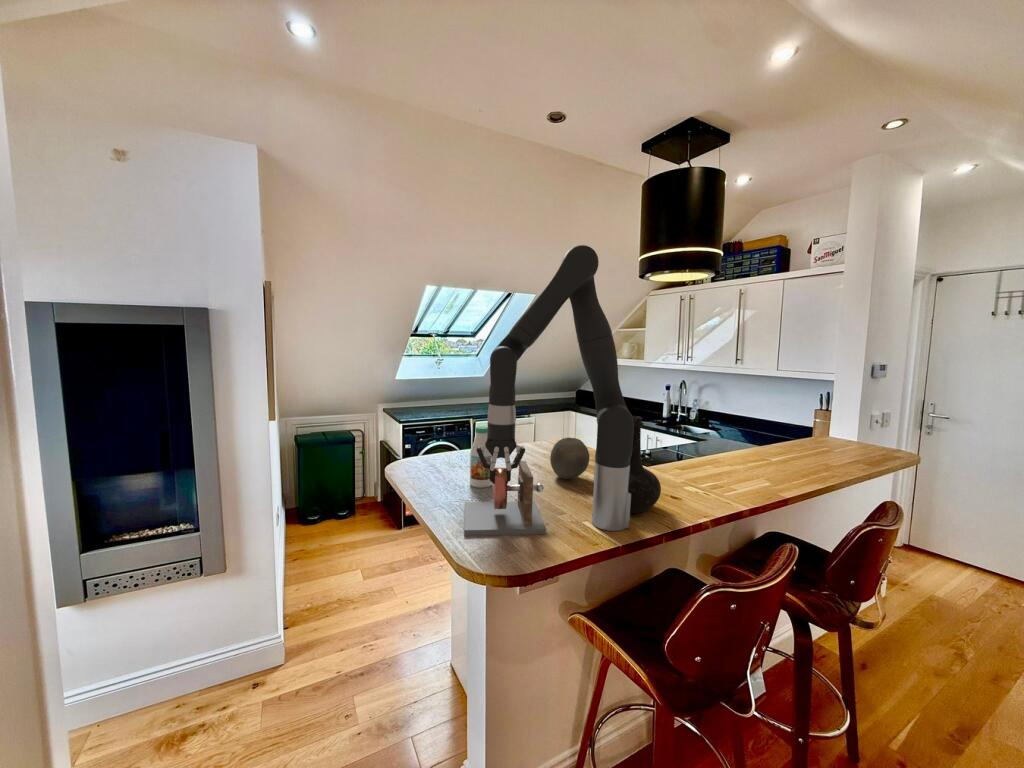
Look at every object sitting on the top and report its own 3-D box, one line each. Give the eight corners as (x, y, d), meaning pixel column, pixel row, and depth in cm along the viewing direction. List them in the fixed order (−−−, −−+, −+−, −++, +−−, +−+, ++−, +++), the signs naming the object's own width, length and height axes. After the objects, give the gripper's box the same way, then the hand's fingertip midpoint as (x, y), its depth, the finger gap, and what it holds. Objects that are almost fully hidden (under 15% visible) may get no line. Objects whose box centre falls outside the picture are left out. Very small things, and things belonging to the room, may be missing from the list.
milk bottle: (465, 484, 141) (466, 426, 139) (482, 479, 147) (483, 423, 145) (479, 490, 136) (480, 430, 134) (496, 485, 141) (498, 427, 139)
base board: (534, 506, 124) (534, 501, 124) (546, 534, 107) (546, 528, 106) (464, 507, 122) (464, 502, 122) (464, 535, 104) (464, 530, 104)
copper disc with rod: (539, 499, 121) (540, 462, 119) (546, 515, 110) (548, 475, 109) (492, 499, 119) (493, 462, 118) (495, 516, 108) (496, 475, 107)
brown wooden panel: (524, 504, 122) (525, 461, 120) (531, 525, 108) (533, 477, 107) (515, 504, 122) (516, 461, 120) (521, 525, 108) (523, 477, 106)
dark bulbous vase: (617, 522, 115) (623, 423, 112) (588, 498, 132) (593, 411, 129) (672, 517, 119) (679, 421, 116) (637, 494, 136) (643, 410, 134)
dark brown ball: (545, 482, 145) (547, 440, 144) (553, 470, 159) (555, 432, 157) (586, 487, 141) (588, 445, 140) (590, 475, 155) (592, 436, 153)
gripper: (525, 418, 116) (523, 478, 118) (475, 417, 114) (473, 478, 116) (529, 423, 108) (527, 487, 110) (475, 423, 107) (474, 487, 109)
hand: (499, 482), depth 113 cm, fingers closed on copper disc with rod, 3 cm apart
